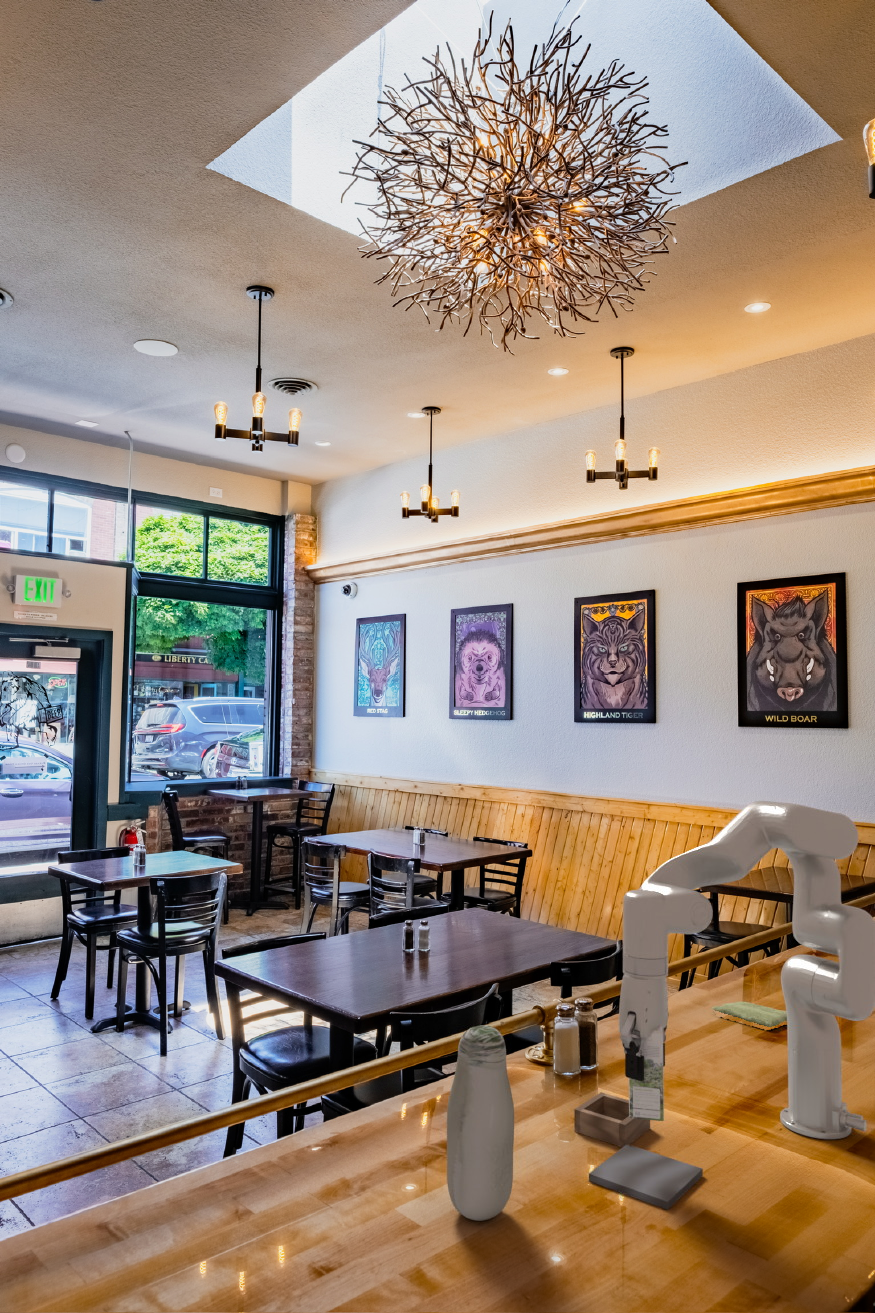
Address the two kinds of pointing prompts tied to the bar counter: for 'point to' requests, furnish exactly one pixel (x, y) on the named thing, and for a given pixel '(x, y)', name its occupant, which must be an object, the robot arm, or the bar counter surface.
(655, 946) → the robot arm
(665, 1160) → the serving board
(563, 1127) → the bar counter surface
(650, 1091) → the syrup box
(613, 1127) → the walnut holder
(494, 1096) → the white bottle
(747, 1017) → the washcloth
